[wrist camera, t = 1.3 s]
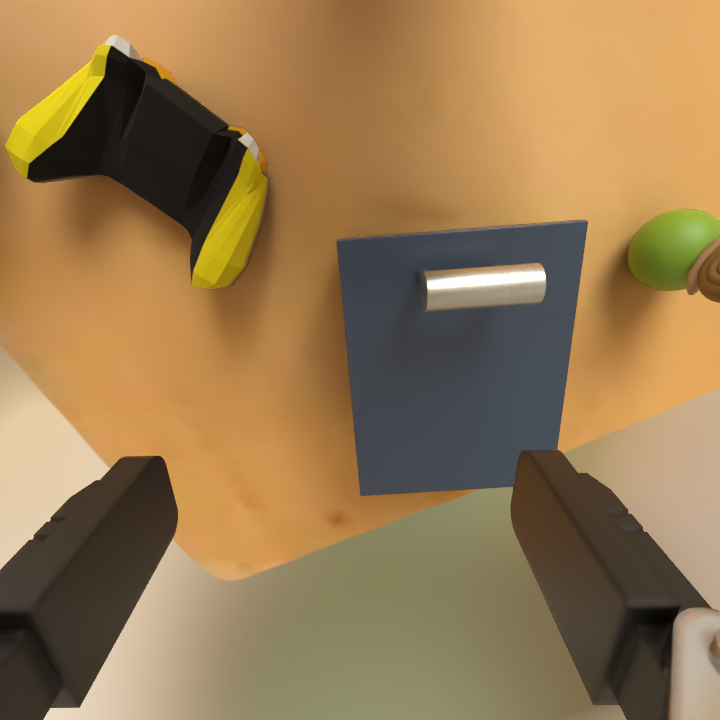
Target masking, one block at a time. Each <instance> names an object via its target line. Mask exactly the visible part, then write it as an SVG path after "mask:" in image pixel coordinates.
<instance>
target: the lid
mask: <svg viewBox="0 0 720 720" xmlns="http://www.w3.org/2000/svg"><path fill="white" fill-rule="evenodd" d="M587 224H588V221H587V220H569V221H556V222H543V223H531V224H518V225H505V226H492V227H480V228H467V229H454V230H442V231H429V232H416V233H403V234H391V235H378V236H365V237H352V238H340V239H338V240H337V251H338V262H339V272H340V283H341V294H342V304H343V315H344V326H345V336H346V347H347V358H348V368H349V379H350V390H351V400H352V411H353V422H354V432H355V443H356V454H357V464H358V475H359V486H360V495H361V496H368V495H384V494H401V493H417V492H434V491H451V490H467V489H484V488H500V487H514V481H515V475H516V468H517V462H518V457H519V454H520V452H521V451H523V450H557V446H558V439H559V432H560V424H561V417H562V409H563V402H564V395H565V387H566V380H567V372H568V365H569V358H570V350H571V343H572V335H573V328H574V321H575V313H576V306H577V298H578V291H579V284H580V276H581V269H582V261H583V254H584V247H585V239H586V232H587Z"/></svg>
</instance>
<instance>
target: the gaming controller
mask: <svg viewBox="0 0 720 720" xmlns="http://www.w3.org/2000/svg"><path fill="white" fill-rule="evenodd" d="M5 149H6V151H7V153H8V155H9V158H10V160H11V162H12V164H13V166H14V167H15V168H16V170H17V171H18V172H19V173H20V174H21V175H22V176H23V177H24V178H26V179H29V180H31V181H33V182H38V183H46V182H54V181H61V180H69V179H77V178H87V177H99V176H109V177H111V178H112V179H114V180H116V181H118V182H120V183H121V184H123V185H124V186H126V187H127V188H129V189H130V190H132V191H133V192H135V193H136V194H138V195H139V196H141V197H142V198H144V199H145V200H146V201H148V202H149V203H151V204H152V205H154V206H155V207H157V208H158V209H160V210H161V211H163V212H164V213H166V214H167V215H169V216H170V217H172V218H173V219H174V220H176V221H177V222H179V223H180V224H181V225H183V226H184V227H185V228H186V229H187V230H188V232H189V234H190V236H191V238H192V245H191V256H190V267H191V285H192V286H193V287H197V288H202V289H219V288H223V287H227V286H231V285H233V284H234V283H235V282H236V280H237V279H238V278H239V277H240V275H241V274H242V273H243V271H244V270H245V269H246V267H247V266H248V264H249V261H250V258H251V255H252V252H253V249H254V246H255V243H256V240H257V237H258V234H259V232H260V229H261V226H262V223H263V218H264V213H265V208H266V203H267V197H268V192H269V177H268V175H267V173H266V168H267V164H268V163H267V162H266V160H265V158H264V156H263V155H262V153H261V151H260V150H259V147H258V146H257V144H256V142H255V140H254V139H253V138H252V137H251V136H250V134H249V133H248V132H247V131H246V130H244V129H242V128H239V127H231V126H229V125H228V124H227V123H225V122H224V121H223V120H221V119H220V118H219V117H217V116H216V115H215V114H213V113H212V112H211V111H210V110H208V109H207V108H206V107H204V106H203V105H202V104H200V103H199V102H198V101H196V100H195V99H194V98H192V97H191V96H190V95H188V94H187V93H186V92H185V91H183V90H182V89H181V88H179V87H178V86H177V84H176V82H175V80H174V78H173V76H172V74H171V73H170V72H169V71H167V70H166V69H164V68H163V67H161V66H160V65H158V64H156V63H154V62H152V61H150V60H148V59H144V58H141V57H140V56H139V54H138V53H137V52H136V50H135V49H134V48H133V46H132V45H131V44H130V42H128V41H126V40H125V39H123V38H122V37H120V36H119V35H115V36H111V37H110V38H109V39H108V40H107V41H106V42H105V43H104V44H103V45H99V46H98V47H97V48H96V49H95V52H94V56H93V59H92V60H91V61H90V62H89V63H88V64H87V65H85V66H84V67H83V68H82V69H81V70H79V71H78V72H77V73H76V74H75V75H73V76H72V77H71V78H70V79H69V80H67V81H66V82H65V83H64V84H63V85H61V86H60V87H59V88H58V89H56V90H55V91H54V92H53V93H52V94H50V95H49V96H48V97H47V98H45V99H44V100H43V101H41V102H40V103H39V104H37V105H36V106H35V107H34V108H32V109H31V110H30V111H28V112H27V113H26V114H24V115H23V116H22V117H20V118H19V120H18V121H17V123H16V124H15V127H14V129H13V131H12V133H11V135H10V137H9V139H8V141H7V143H6V145H5Z"/></svg>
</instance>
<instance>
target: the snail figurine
mask: <svg viewBox="0 0 720 720" xmlns="http://www.w3.org/2000/svg"><path fill="white" fill-rule="evenodd" d="M628 264H629V267H630V270H631V271H632V273H633V275H634V276H635V277H636V278H637V279H638V280H639V281H640V282H641V283H643V284H645V285H646V286H648V287H651V288H654V289H658V290H664V291H676V290H682V289H687V292H688V294H689V295H694V294H695V293H697V292H698V290H700V292H701V293H702V294H703V295H704V296H705V297H706V298H707V299H709V300H711V301H715V302H719V303H720V221H719V220H718V219H717V218H715V217H714V216H712V215H711V214H709V213H706V212H703V211H700V210H694V209H680V210H674V211H670V212H666V213H663V214H661V215H659V216H657V217H655V218H653V219H651V220H650V221H649V222H647V223H646V224H645V225H644V226H642V227H641V228H640V229H639V231H638V232H637V233H636V234H635V236H634V237H633V239H632V241H631V243H630V246H629V250H628Z"/></svg>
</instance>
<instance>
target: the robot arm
mask: <svg viewBox="0 0 720 720" xmlns="http://www.w3.org/2000/svg"><path fill="white" fill-rule="evenodd" d="M511 519H512V525H513V529H514V532H515V534H516V537H517V539H518V541H519V543H520V545H521V547H522V550H523V552H524V554H525V556H526V558H527V560H528V563H529V565H530V567H531V569H532V572H533V574H534V576H535V578H536V580H537V582H538V584H539V587H540V589H541V591H542V593H543V595H544V598H545V600H546V602H547V604H548V607H549V609H550V611H551V613H552V615H553V618H554V620H555V622H556V624H557V626H558V629H559V631H560V633H561V635H562V637H563V640H564V641H565V644H566V646H567V648H568V650H569V653H570V655H571V657H572V659H573V661H574V664H575V666H576V668H577V670H578V672H579V675H580V677H581V679H582V681H583V683H584V685H585V688H586V690H587V692H588V694H589V696H590V698H591V701H592V703H593V705H620V707H621V709H622V711H623V713H624V715H625V716H626V719H627V720H720V611H719V610H715V609H712V608H711V607H710V606H709V605H708V603H707V602H706V601H705V600H704V599H703V598H702V596H701V595H700V594H699V593H698V592H697V590H696V589H695V588H694V587H693V586H692V585H691V584H690V582H689V581H688V580H687V579H686V577H685V576H684V575H683V574H682V573H681V572H680V570H679V569H678V568H677V567H676V566H675V565H674V563H673V562H672V561H671V560H670V559H669V558H668V556H667V555H666V554H665V553H664V552H663V550H662V549H661V548H660V547H659V546H658V545H657V543H656V542H655V541H654V540H653V539H652V538H651V536H650V535H649V534H648V533H647V532H644V531H643V527H642V526H641V525H640V524H639V522H638V521H637V520H636V519H635V518H634V516H633V515H632V514H629V513H628V509H627V508H626V507H625V506H624V505H623V504H622V502H621V501H620V500H619V499H618V498H617V496H616V495H615V494H614V493H613V492H612V491H611V489H609V488H608V487H606V486H605V485H603V484H602V483H600V482H599V481H598V480H596V479H595V478H593V477H592V476H590V475H589V474H587V473H578V472H577V471H576V470H575V469H574V467H573V466H572V465H571V464H570V462H569V461H568V460H567V458H566V457H565V456H564V454H563V453H562V452H560V451H559V450H523V451H521V452H520V454H519V457H518V462H517V468H516V475H515V481H514V487H513V494H512V500H511ZM177 522H178V509H177V505H176V501H175V497H174V493H173V490H172V486H171V482H170V478H169V474H168V471H167V467H166V463H165V461H164V459H163V458H162V457H160V456H127V457H122V458H121V459H119V460H118V461H117V462H116V463H115V464H114V466H113V467H112V468H111V469H110V470H109V471H108V472H107V473H106V474H105V475H104V476H103V478H102V479H101V480H96V481H94V482H93V483H91V484H90V485H88V486H87V487H85V488H84V489H82V490H81V491H79V492H78V493H76V494H75V495H73V496H72V497H70V498H69V499H68V500H67V501H66V502H65V503H64V504H63V506H61V508H60V509H59V510H58V511H57V512H56V513H55V514H54V515H53V516H52V517H51V520H50V522H46V523H45V524H44V525H43V526H42V527H41V528H40V529H39V530H38V531H37V532H36V533H35V534H34V538H33V540H29V541H28V542H27V543H26V544H25V545H24V546H23V547H22V548H21V549H20V550H19V551H18V552H17V553H16V554H15V555H14V556H13V557H12V558H11V559H10V560H9V561H8V562H7V564H6V565H5V566H4V567H3V568H2V569H1V570H0V720H43V719H44V717H45V716H46V714H47V712H48V711H49V709H50V708H73V707H74V708H76V707H77V708H79V707H80V706H81V704H82V702H83V700H84V698H85V697H86V695H87V693H88V691H89V689H90V688H91V686H92V684H93V682H94V680H95V679H96V677H97V675H98V673H99V671H100V669H101V667H102V666H103V664H104V662H105V660H106V659H107V657H108V654H109V653H110V651H111V649H112V648H113V646H114V644H115V642H116V640H117V639H118V637H119V635H120V633H121V631H122V629H123V628H124V626H125V624H126V622H127V620H128V618H129V617H130V615H131V613H132V611H133V609H134V608H135V606H136V604H137V602H138V600H139V599H140V597H141V595H142V593H143V591H144V590H145V588H146V586H147V584H148V582H149V580H150V579H151V577H152V575H153V573H154V571H155V570H156V568H157V566H158V564H159V562H160V560H161V558H162V557H163V555H164V553H165V551H166V549H167V548H168V546H169V544H170V542H171V540H172V539H173V537H174V534H175V531H176V527H177Z"/></svg>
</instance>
